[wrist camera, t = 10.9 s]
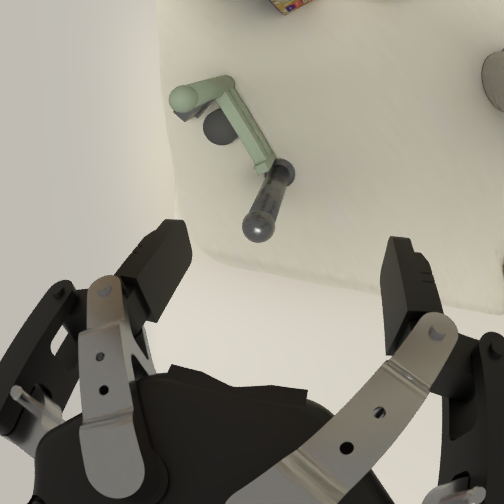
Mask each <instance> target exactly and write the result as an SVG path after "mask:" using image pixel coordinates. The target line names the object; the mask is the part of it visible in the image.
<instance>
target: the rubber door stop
mask: <svg viewBox="0 0 504 504" xmlns="http://www.w3.org/2000/svg"><path fill="white" fill-rule="evenodd" d="M203 131H204V134H205V136H206V137H207V138H208V140H210V141H211V142H212V143H214V144H217V145H227V144H229V143H231V142H232V141H234V140H235V139H236V138H237V137H238V135H237V133H236V131H235V130H234V128H233V127H232V125H231V123H230V122H229V120H228V119H227V117H226V115H225V114H224V112H223V111H222V109H221V108H220V109H217V110H215V111H214V112H212V113H210V114H209V115H208V116H207V117H206V118H205V120H204V123H203Z"/></svg>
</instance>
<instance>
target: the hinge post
mask: <svg viewBox="0 0 504 504" xmlns="http://www.w3.org/2000/svg"><path fill="white" fill-rule="evenodd" d="M264 175H265V181H264V183H263V185H262V187H261V189H260V191H259V193H258V195H257V197H256V199H255V201H254V203H253V205H252V207H251V209H250V212H249V213H248V214H247V215H246V216H245V218H244V220H243V223H242V230H243V233H244V235H245V236H246V237H247V238H248V239H249V240H250V241H252V242H256V243H261V242H265V241H267V240H268V239H269V238H271V236H272V235H273V233H274V230H275V221H276V218H277V215H278V212H279V208H280V205H281V202H282V199H283V196H284V193H285V190H286V187H287V186H289V185H290V184H291V183H292V182H293V180H294V177H295V170H294V168H293V166H292V165H291V164H290V163H289V162H288V161H286V160H284V159H275V160H274V162H273V164H272V166H271V168H270V170H269V171H268V172H265V173H264Z"/></svg>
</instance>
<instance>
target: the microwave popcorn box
mask: <svg viewBox="0 0 504 504" xmlns="http://www.w3.org/2000/svg"><path fill="white" fill-rule="evenodd" d="M269 1H270V2H271V3H272V4H273V5H274V6H275V7H276V8H277V9H278V10H279V11H280V12H281V13H283V14H284V15H286V14H288V13H290V12H292V11H293V10H295V9H297V8H299V7H301V6H302V5H304V4H306V3H308V2H310V1H312V0H269Z"/></svg>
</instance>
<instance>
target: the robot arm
mask: <svg viewBox="0 0 504 504" xmlns="http://www.w3.org/2000/svg"><path fill="white" fill-rule="evenodd" d="M482 80H483V86H484V89H485V92H486V94H487V96H488V98H489V100H490V101H491V102H492V104H493V105H494V106H495V107H496V108H498V109H499V110H501V111H502V112H504V50H503V51H502V52H496V53H493V54H491V55H490V56H489V57H488V58H487V59H486V61H485V63H484V66H483V71H482ZM191 260H192V249H191V244H190V240H189V236H188V232H187V228H186V224H185V222H184V221H183V220H173V219H172V220H171V219H165V220H164V221H163V222H162V223H161V225H160V226H159V227H158V228H157V229H156V230H154V231H153V232H151V233H150V234H148V235H147V236H145V237H144V238H143V239H142V241H141V242H140V243H139V244H138V247H136V248H135V249H134V250H133V252H132V253H131V254H130V255H129V257H128V258H127V259H126V260H125V261H124V263H123V264H122V265H121V267H120V268H119V269H118V270H117V272H116V273H115V274H114V275H107V276H104V277H101V278H99V279H97V280H96V281H94V282H93V283H92V285H91V286H90V287H89V289H81V290H76V289H75V287H74V286H73V284H72V282H71V281H69V280H62V281H59V282H57V283H55V284H54V285H53V286H51V288H50V289H49V290H48V291H47V293H46V294H45V295H44V296H43V298H42V299H41V300H40V302H39V303H38V305H37V306H36V307H35V309H34V310H33V312H32V313H31V314H30V316H29V317H28V319H27V321H26V322H25V323H24V325H23V326H22V328H21V329H20V331H19V332H18V334H17V335H16V337H15V339H14V340H13V342H12V343H11V345H10V347H9V348H8V350H7V351H6V353H5V355H4V356H3V358H2V360H1V362H0V435H1V436H2V437H4V438H6V439H7V440H9V441H11V442H12V443H14V444H16V445H17V446H19V447H20V448H21V449H23V450H24V451H25V452H26V453H28V454H29V455H30V456H31V457H33V458H34V459H35V482H34V490H33V495H32V498H31V499H30V501H29V503H27V504H394V502H393V501H392V499H391V498H390V496H389V495H388V493H387V492H386V490H385V489H384V487H383V486H382V484H381V483H380V481H379V480H378V478H377V477H376V475H375V474H374V472H373V471H372V469H371V468H372V467H373V466H374V465H375V463H376V462H377V461H378V460H379V459H380V458H381V457H382V456H383V455H384V453H385V452H386V451H387V450H388V449H389V447H390V446H391V445H392V444H393V443H394V441H395V440H396V439H397V438H398V436H399V435H400V434H401V432H402V431H403V430H404V429H405V427H406V426H407V425H408V423H409V422H410V421H411V419H412V418H413V416H414V415H415V414H416V412H417V411H418V409H419V408H420V406H421V405H422V404H423V402H424V401H425V399H426V398H427V396H428V394H429V392H432V393H435V394H438V395H441V396H442V446H441V461H440V471H439V481H438V486H437V487H435V488H434V489H432V490H431V491H430V492H429V493H428V494H427V495H426V497H425V498H424V500H423V502H422V504H504V337H503V336H502V335H500V334H498V333H496V332H488V333H485V334H484V335H483V336H482V337H481V339H480V340H476V339H473V338H470V337H467V336H465V335H462V334H459V333H458V330H457V327H456V325H455V323H454V322H453V321H452V320H451V319H450V318H449V317H448V316H446V315H444V313H443V309H442V305H441V301H440V298H439V294H438V290H437V287H436V284H435V280H434V277H433V275H432V271H431V267H430V264H429V262H428V261H427V260H426V258H425V257H424V256H423V255H422V254H421V253H418V252H414V250H413V247H412V243H411V240H410V239H409V238H404V237H394V236H390V238H389V240H388V244H387V248H386V252H385V256H384V260H383V264H382V268H381V274H380V287H381V296H382V306H383V317H384V330H385V347H386V355H391V356H392V357H391V358H390V360H389V361H388V360H387V361H385V362H384V363H383V364H382V366H381V367H380V368H379V369H378V370H377V371H376V372H375V374H374V375H373V376H372V377H371V378H370V379H369V380H368V382H367V383H366V384H365V385H364V386H363V387H362V388H361V389H360V390H359V391H358V393H356V394H355V396H354V397H353V398H352V399H351V400H350V401H349V402H348V403H347V404H346V405H345V406H344V407H343V408H342V409H341V410H340V411H339V412H338V413H337V414H336V415H333V414H332V413H331V412H330V411H329V410H327V409H326V408H325V407H323V406H322V405H320V404H318V403H316V402H314V401H311V400H308V399H306V398H307V392H308V390H304V389H295V388H288V387H281V386H274V385H267V386H251V387H232V386H229V385H227V384H225V383H223V382H221V381H219V380H217V379H215V378H213V377H211V376H209V375H207V374H205V373H203V372H201V371H196V370H192V369H188V368H184V367H180V366H177V365H173V364H172V365H171V367H170V369H169V371H168V373H158V374H157V373H156V371H155V369H154V365H153V362H152V358H151V353H150V349H149V345H148V341H147V336H146V331H145V328H144V326H143V325H144V323H145V321H151V322H155V323H157V322H158V320H159V318H160V316H161V315H162V313H163V311H164V309H165V307H166V306H167V304H168V302H169V300H170V299H171V297H172V295H173V293H174V292H175V290H176V288H177V286H178V285H179V283H180V281H181V279H182V278H183V276H184V274H185V272H186V271H187V269H188V267H189V266H190V264H191ZM62 325H63V326H64V327H65V329H66V330H67V332H68V334H67V336H66V338H65V340H64V341H63V343H62V345H61V346H60V348H59V350H58V352H57V353H56V355H55V356H54V355H53V354H52V352H51V348H50V346H51V342H52V340H53V338H54V337H55V335H56V333H57V332H58V330H59V329H60V327H61V326H62ZM78 379H80V392H81V404H82V413H80V414H78V415H77V416H75V417H73V418H71V419H69V420H68V421H66V422H65V421H64V420H63V419H62V412H63V410H64V408H65V406H66V404H67V401H68V399H69V398H70V395H71V393H72V391H73V389H74V387H75V385H76V383H77V381H78Z"/></svg>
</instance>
